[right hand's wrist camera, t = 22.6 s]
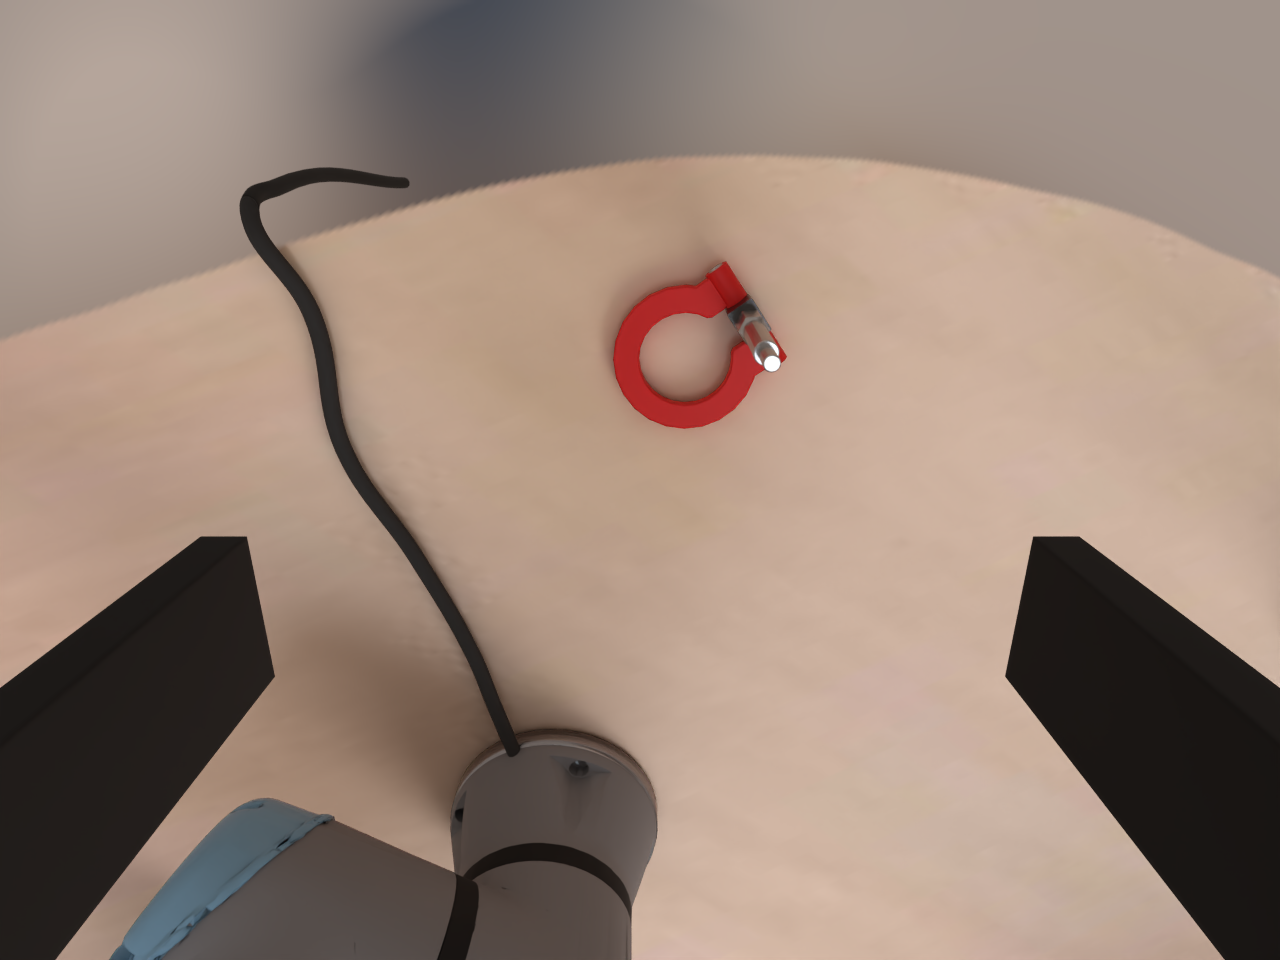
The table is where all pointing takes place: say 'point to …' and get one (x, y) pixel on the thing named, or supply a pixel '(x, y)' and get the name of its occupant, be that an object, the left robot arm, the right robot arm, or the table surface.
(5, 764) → the right robot arm
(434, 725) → the table surface
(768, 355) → the tow hook
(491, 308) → the table surface
